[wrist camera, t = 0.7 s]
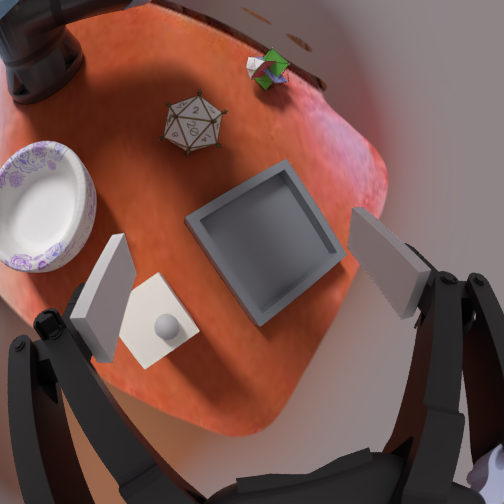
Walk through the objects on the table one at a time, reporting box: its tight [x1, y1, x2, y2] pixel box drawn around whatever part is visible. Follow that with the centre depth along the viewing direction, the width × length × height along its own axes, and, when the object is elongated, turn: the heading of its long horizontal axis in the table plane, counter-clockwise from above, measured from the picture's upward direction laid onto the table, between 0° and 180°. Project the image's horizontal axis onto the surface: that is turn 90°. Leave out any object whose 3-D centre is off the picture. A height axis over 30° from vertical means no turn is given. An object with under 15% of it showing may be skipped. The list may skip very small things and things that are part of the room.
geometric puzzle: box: [246, 48, 290, 91], centre depth 37 cm, size 7×7×8 cm
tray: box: [184, 159, 347, 327], centre depth 36 cm, size 16×16×3 cm
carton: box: [119, 272, 200, 369], centre depth 26 cm, size 6×6×13 cm
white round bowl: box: [0, 141, 97, 273], centre depth 25 cm, size 15×15×8 cm
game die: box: [158, 89, 228, 157], centre depth 32 cm, size 9×8×10 cm
